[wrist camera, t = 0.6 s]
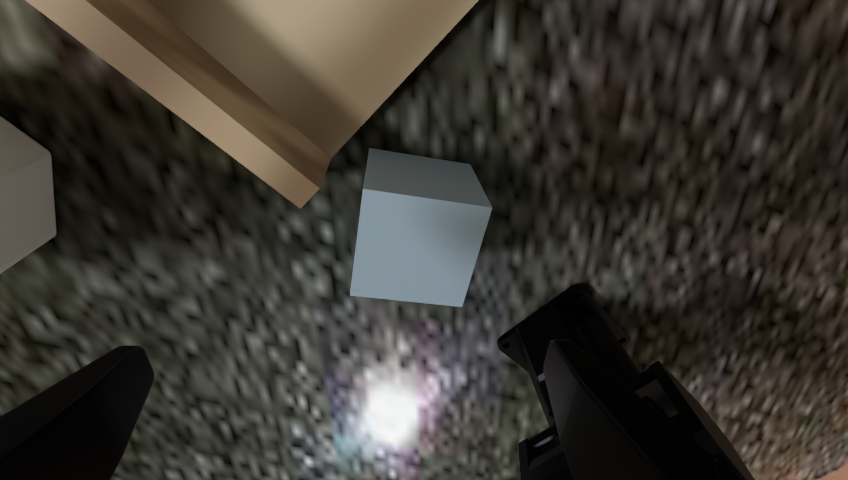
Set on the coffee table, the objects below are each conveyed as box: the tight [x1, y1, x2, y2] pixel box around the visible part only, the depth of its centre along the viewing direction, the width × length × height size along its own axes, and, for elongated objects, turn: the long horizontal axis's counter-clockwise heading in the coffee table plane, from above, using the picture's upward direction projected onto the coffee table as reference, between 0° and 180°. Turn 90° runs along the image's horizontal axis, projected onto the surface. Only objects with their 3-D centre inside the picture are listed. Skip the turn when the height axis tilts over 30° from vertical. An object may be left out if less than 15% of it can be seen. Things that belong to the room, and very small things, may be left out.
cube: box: [350, 148, 492, 307], centre depth 18 cm, size 5×5×5 cm
